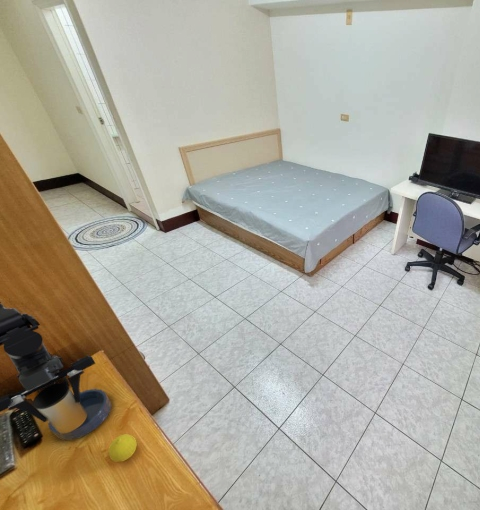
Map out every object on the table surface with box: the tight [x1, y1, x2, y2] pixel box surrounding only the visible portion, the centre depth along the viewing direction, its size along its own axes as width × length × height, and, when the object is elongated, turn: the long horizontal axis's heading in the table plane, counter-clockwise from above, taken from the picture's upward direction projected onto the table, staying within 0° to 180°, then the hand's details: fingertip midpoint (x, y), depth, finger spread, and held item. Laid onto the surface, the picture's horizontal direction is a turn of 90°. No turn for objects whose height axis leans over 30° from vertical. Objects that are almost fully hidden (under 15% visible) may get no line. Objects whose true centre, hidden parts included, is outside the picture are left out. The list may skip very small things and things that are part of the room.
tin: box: [32, 383, 87, 433], centre depth 67 cm, size 6×6×12 cm
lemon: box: [108, 433, 138, 463], centre depth 68 cm, size 6×6×8 cm
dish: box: [48, 388, 112, 441], centre depth 76 cm, size 12×12×4 cm
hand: (63, 411), depth 66 cm, fingers closed on tin, 6 cm apart
